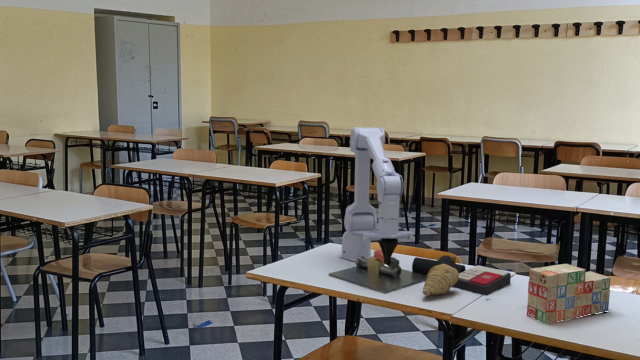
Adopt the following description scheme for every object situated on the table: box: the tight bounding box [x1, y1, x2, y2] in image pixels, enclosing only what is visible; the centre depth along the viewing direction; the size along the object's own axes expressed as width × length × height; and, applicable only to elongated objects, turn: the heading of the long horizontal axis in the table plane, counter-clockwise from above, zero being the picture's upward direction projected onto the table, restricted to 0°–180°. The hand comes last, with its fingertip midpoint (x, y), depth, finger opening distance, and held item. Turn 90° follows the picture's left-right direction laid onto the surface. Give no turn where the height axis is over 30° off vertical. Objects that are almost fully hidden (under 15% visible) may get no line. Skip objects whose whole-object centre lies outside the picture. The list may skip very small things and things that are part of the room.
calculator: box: [451, 265, 512, 296], centre depth 172 cm, size 11×4×15 cm
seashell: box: [421, 264, 459, 296], centre depth 162 cm, size 14×8×8 cm, turn 148°
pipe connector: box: [411, 254, 467, 276], centre depth 183 cm, size 12×5×15 cm
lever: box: [373, 249, 400, 269], centre depth 176 cm, size 13×3×2 cm, turn 19°
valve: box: [328, 256, 427, 294], centre depth 178 cm, size 22×21×5 cm
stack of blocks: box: [526, 263, 611, 325], centre depth 149 cm, size 21×6×12 cm, turn 115°
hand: (386, 264), depth 171 cm, fingers closed
